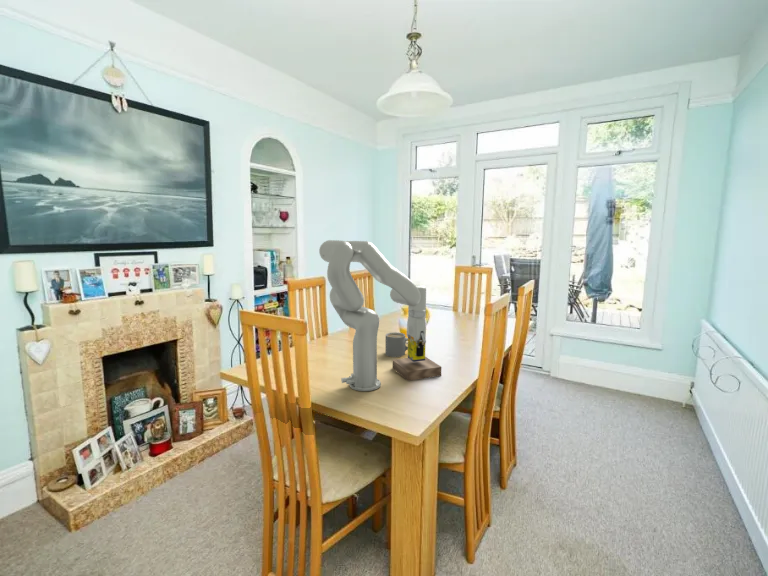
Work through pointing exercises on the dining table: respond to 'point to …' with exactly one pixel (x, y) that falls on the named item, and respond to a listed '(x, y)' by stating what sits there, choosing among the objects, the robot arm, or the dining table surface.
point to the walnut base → (416, 368)
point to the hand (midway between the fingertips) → (416, 353)
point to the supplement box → (414, 350)
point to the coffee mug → (395, 344)
